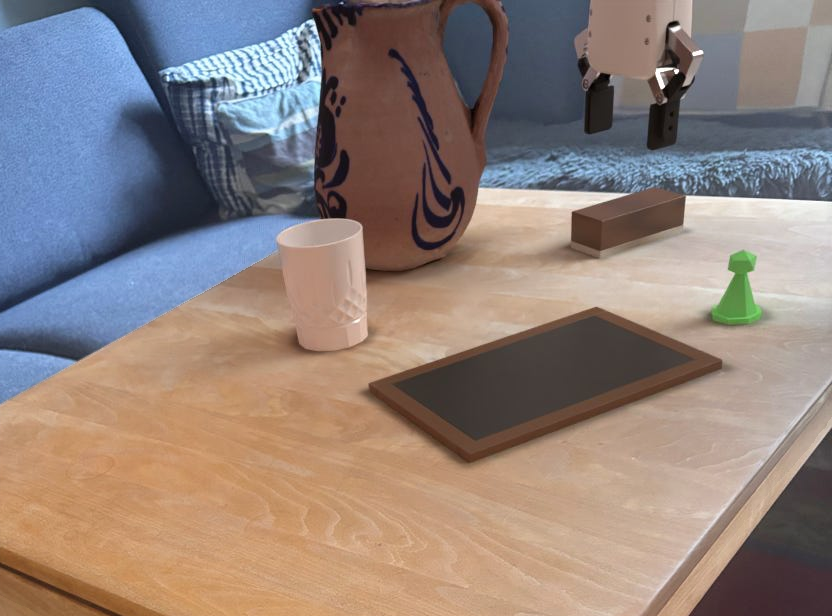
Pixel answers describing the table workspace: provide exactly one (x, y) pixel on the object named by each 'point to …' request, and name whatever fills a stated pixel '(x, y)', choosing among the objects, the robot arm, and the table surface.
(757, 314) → the game piece
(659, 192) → the eraser
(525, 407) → the slate board
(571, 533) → the table surface
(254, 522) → the table surface
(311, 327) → the white cup
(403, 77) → the ceramic pitcher
